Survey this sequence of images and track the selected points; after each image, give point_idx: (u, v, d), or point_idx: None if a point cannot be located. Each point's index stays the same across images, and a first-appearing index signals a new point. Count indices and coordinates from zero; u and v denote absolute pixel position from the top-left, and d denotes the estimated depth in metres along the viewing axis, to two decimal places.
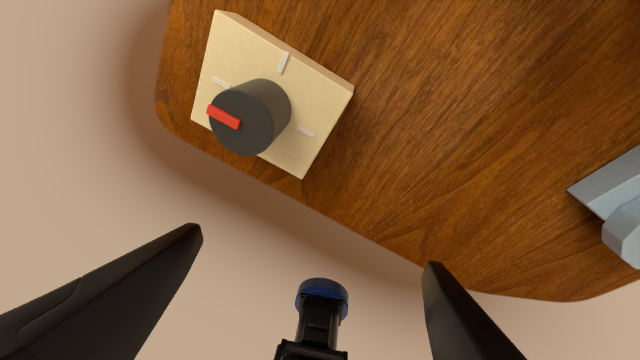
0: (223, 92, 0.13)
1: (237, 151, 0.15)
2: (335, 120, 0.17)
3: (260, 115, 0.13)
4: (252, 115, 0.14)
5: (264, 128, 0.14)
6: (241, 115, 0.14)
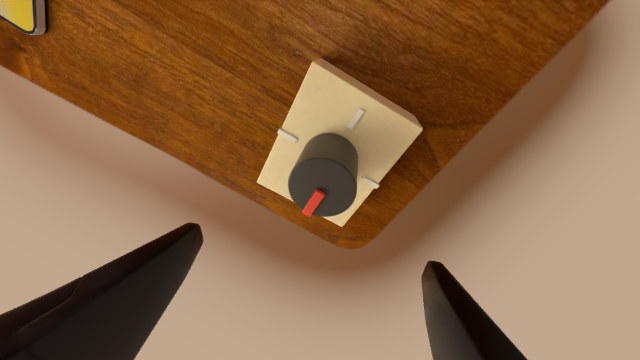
0: (291, 197, 0.14)
1: (350, 200, 0.14)
2: (343, 82, 0.14)
3: (310, 169, 0.13)
4: (310, 177, 0.13)
5: (323, 168, 0.13)
6: (311, 186, 0.14)
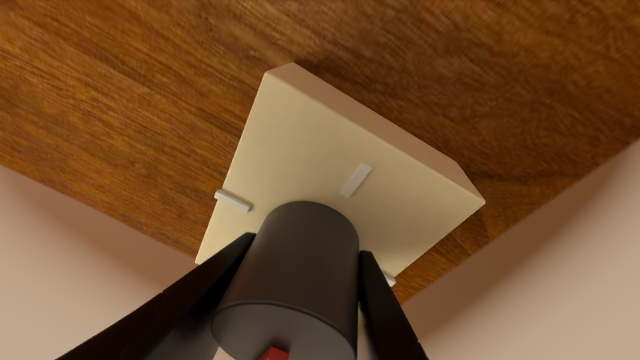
0: (223, 349, 0.07)
1: None
2: (329, 113, 0.07)
3: (252, 317, 0.06)
4: (255, 328, 0.06)
5: (281, 319, 0.06)
6: (260, 341, 0.06)
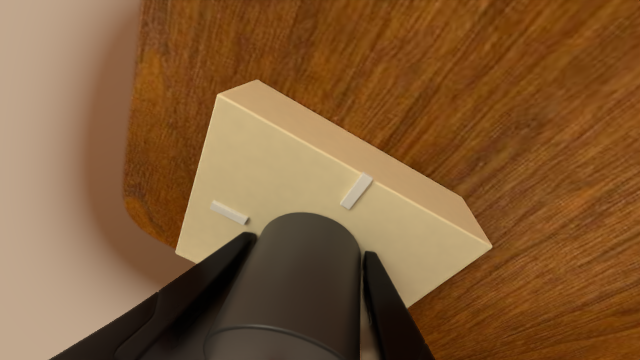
0: None
1: None
2: (444, 279, 0.09)
3: (245, 342, 0.05)
4: (249, 353, 0.06)
5: (277, 344, 0.05)
6: None
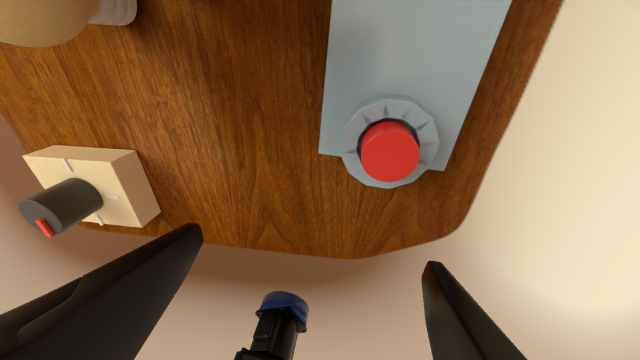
0: None
1: (54, 217, 0.21)
2: (118, 182, 0.23)
3: (24, 209, 0.21)
4: (29, 213, 0.21)
5: (26, 206, 0.21)
6: (36, 219, 0.22)
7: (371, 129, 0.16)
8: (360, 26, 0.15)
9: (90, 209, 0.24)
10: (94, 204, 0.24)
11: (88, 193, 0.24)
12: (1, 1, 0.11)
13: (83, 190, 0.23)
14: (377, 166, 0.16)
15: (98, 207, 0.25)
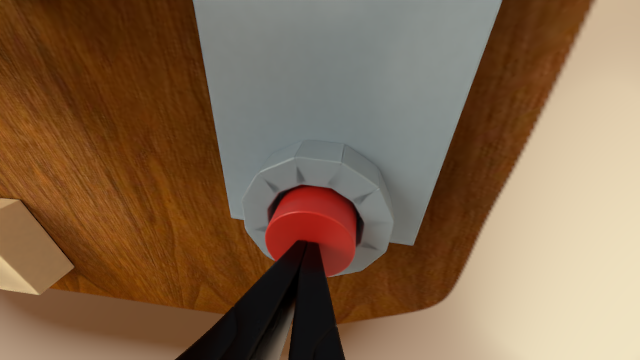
0: None
1: None
2: None
3: None
4: None
5: None
6: None
7: (285, 195, 0.10)
8: (247, 34, 0.09)
9: None
10: None
11: None
12: None
13: None
14: None
15: None
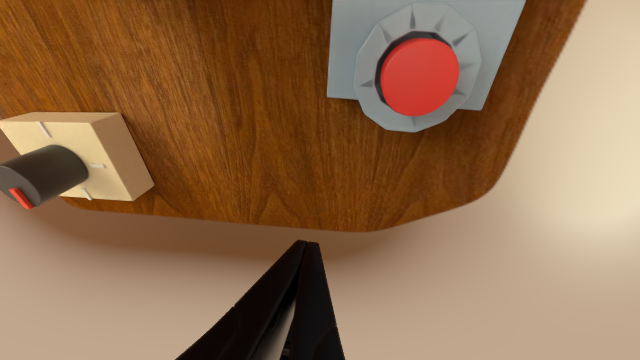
0: None
1: (29, 184, 0.19)
2: (101, 147, 0.21)
3: None
4: (2, 182, 0.19)
5: None
6: (10, 188, 0.19)
7: (393, 49, 0.13)
8: None
9: (73, 179, 0.21)
10: (77, 174, 0.22)
11: (69, 161, 0.21)
12: None
13: (63, 157, 0.21)
14: (403, 94, 0.12)
15: (83, 178, 0.22)
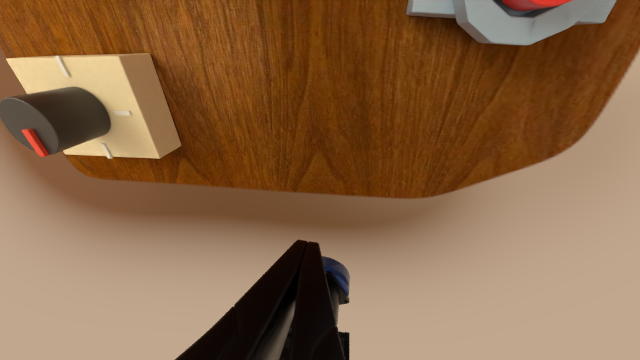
0: (28, 147, 0.17)
1: (46, 123, 0.16)
2: (129, 88, 0.18)
3: (6, 115, 0.16)
4: (13, 121, 0.16)
5: (8, 108, 0.16)
6: (23, 129, 0.16)
7: None
8: None
9: (95, 127, 0.19)
10: (99, 121, 0.19)
11: (91, 105, 0.18)
12: None
13: (85, 100, 0.18)
14: None
15: (105, 128, 0.19)
